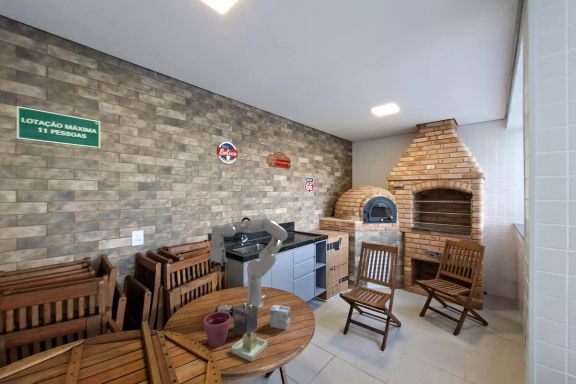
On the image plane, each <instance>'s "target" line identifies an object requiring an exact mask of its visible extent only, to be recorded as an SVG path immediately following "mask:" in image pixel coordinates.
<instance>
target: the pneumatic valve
mask: <svg viewBox="0 0 576 384" xmlns="http://www.w3.org/2000/svg"><path fill="white" fill-rule="evenodd" d="M234 308H235V307H234V305H229V304H225V305H224V304H219V305H218V306H217V307H215V310H214V313H216V312H226V313H228V314H230V316H231V320H232V319H234Z"/></svg>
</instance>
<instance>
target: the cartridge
mask: <svg viewBox="0 0 576 384" xmlns="http://www.w3.org/2000/svg"><path fill="white" fill-rule="evenodd" d="M242 338H243V349H244V350H246V351H249V352H251V351H252V350H254V349H255V348H256V347H257V332H255V331H254V332H252V331H248V332H246V333H245V334H244V335H242Z"/></svg>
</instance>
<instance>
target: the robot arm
mask: <svg viewBox="0 0 576 384" xmlns="http://www.w3.org/2000/svg"><path fill="white" fill-rule="evenodd" d="M264 231H265V232H267V233H268V234H269V235H270V236H271V240H270V241H269V243H268V244H267V245H266V246H265V247H264V248H263V249H262V251H260V252H259V254H258V259H259V260H256V259H251V260H250V261H248V263H247V266H246V273H247V301H246V303H247V304H252V305H253V306H256V307H257V310H260V309H261V308H263V307H264V302H263V299H265V297H266V295H262V278H263V277H264V276H265V275H266V274H267V273H268V271H270V270H271V268H273V266H274V265H275V264H276V262H277V261H276V260H277V257H276V254H277V253H278V252H279V251H280V249H281V248H282V247H283V241H286V240H287V239H288V232H287V230H286V229H285V228H284V227H282V226H280V224H277V223H276V222H275V221H274V220H272V219H270V218H260V219H258V218H257V219H254V220H253V219H252V220H245V221H244V220H243V221H236V222H228V223H225V224H223V225H221V224H220V225H218V224H217V225H213V226H212V227H211V246H210V254H209V255H207V259H208V262H209V263H210V269H209V270H214V269H215V267H216V266H215V265H216V264H215V263H220V265H221V266H220V272H221V273H223V272H225V271H226V265H227V264H228V261H229V259H228V258H227V257H226V255H227V254H226V246H224V245H225V243H224V238H225V237H227V238H230V237H234V235H235V234H237V233H245V234H251V233H252V234H253V233H260V232H264Z"/></svg>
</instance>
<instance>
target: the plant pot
mask: <svg viewBox="0 0 576 384" xmlns="http://www.w3.org/2000/svg"><path fill="white" fill-rule="evenodd" d="M231 324H232V319H231V316H230V314H228V313H226V312H216V313H215V312H212V313H209V314H208V315H206V316H205V317H204V319H203V330H205V334H206V335H205V336H206V339H207V342H208V345H209V346H211V347H214V348H215V347H221V346H223V345H224V344H226V341H227V337H228V332H229V330H230V329H229V328H230V325H231Z"/></svg>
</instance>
